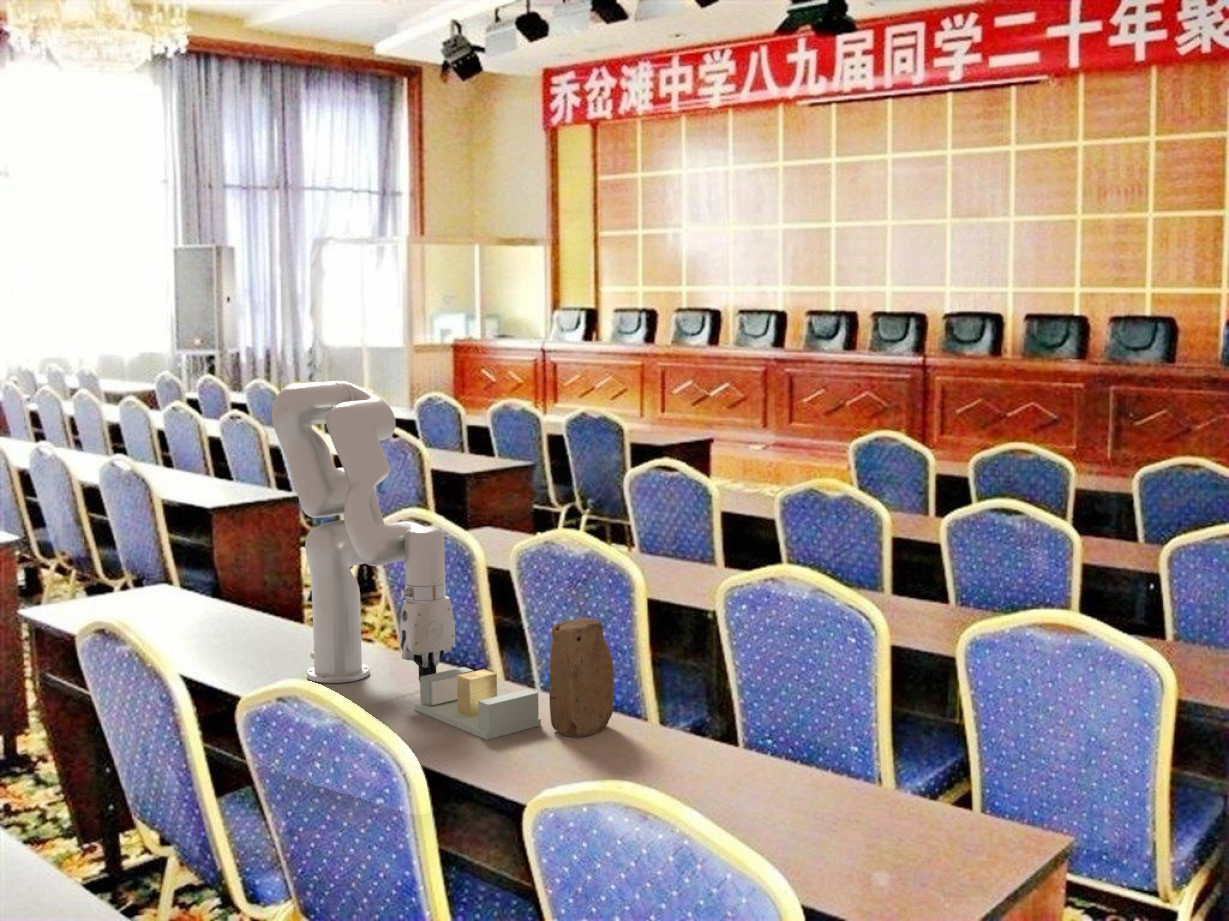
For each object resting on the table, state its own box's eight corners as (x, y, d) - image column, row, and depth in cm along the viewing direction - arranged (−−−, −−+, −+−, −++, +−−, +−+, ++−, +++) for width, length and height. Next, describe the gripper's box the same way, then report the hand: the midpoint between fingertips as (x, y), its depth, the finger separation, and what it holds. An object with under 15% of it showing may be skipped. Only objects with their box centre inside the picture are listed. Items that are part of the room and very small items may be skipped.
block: (570, 741, 241) (570, 629, 239) (545, 731, 247) (544, 621, 244) (619, 729, 248) (619, 619, 245) (593, 719, 254) (593, 612, 251)
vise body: (414, 709, 260) (413, 677, 259) (467, 697, 267) (466, 666, 267) (486, 739, 242) (486, 705, 242) (540, 725, 250) (540, 692, 249)
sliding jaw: (420, 701, 260) (419, 676, 259) (464, 691, 266) (464, 667, 266) (431, 706, 257) (430, 680, 256) (475, 695, 263) (475, 670, 263)
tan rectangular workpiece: (457, 712, 254) (457, 675, 253) (484, 705, 258) (484, 669, 257) (470, 717, 251) (469, 679, 250) (497, 710, 255) (496, 673, 254)
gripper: (402, 601, 257) (405, 697, 259) (469, 589, 266) (471, 682, 269) (381, 594, 262) (383, 688, 265) (447, 583, 272) (449, 674, 274)
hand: (427, 685), depth 267 cm, fingers closed
